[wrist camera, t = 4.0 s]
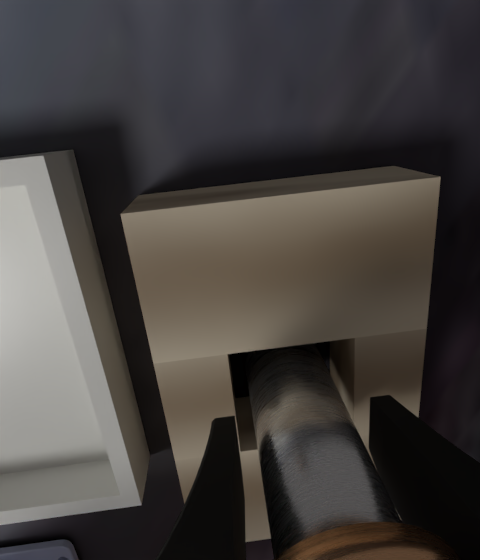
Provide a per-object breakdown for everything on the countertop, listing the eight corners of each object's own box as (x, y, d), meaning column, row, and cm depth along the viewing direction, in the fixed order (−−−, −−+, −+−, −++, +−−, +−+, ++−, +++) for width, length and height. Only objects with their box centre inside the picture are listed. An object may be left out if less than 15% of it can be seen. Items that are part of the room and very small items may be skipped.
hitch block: (379, 460, 19) (408, 518, 16) (196, 486, 19) (194, 549, 16) (393, 165, 14) (440, 176, 11) (138, 195, 13) (120, 214, 11)
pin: (338, 401, 16) (473, 692, 8) (233, 415, 16) (260, 725, 8) (337, 307, 15) (507, 551, 6) (221, 322, 15) (238, 591, 6)
